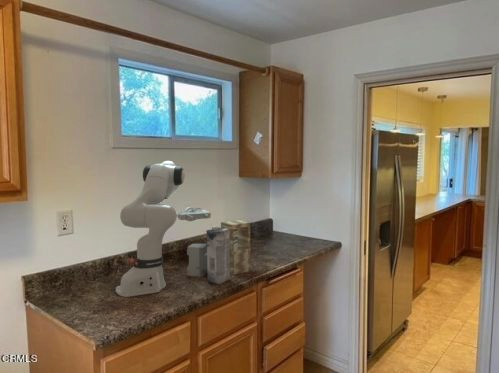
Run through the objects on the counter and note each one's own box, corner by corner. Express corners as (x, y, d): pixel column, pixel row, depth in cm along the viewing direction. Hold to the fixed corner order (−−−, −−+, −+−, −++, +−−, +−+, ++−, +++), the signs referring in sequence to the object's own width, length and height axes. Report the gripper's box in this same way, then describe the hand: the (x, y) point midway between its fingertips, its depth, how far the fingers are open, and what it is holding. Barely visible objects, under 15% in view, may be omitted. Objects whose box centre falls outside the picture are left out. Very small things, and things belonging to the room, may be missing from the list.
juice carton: (232, 279, 187) (231, 225, 185) (219, 285, 178) (218, 229, 176) (217, 276, 191) (217, 224, 189) (204, 282, 183) (204, 227, 180)
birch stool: (231, 275, 194) (231, 225, 192) (221, 270, 202) (220, 222, 200) (250, 270, 201) (250, 222, 199) (240, 266, 209) (239, 219, 207)
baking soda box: (231, 254, 234) (231, 229, 233) (224, 252, 238) (224, 227, 237) (242, 251, 241) (242, 226, 239) (235, 250, 245) (235, 225, 244)
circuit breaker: (214, 277, 190) (213, 248, 189) (187, 275, 193) (187, 246, 192) (218, 272, 198) (218, 244, 196) (192, 271, 201) (192, 243, 199)
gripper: (174, 209, 227) (184, 213, 216) (204, 208, 239) (215, 211, 228) (174, 220, 228) (183, 224, 217) (204, 217, 240) (214, 221, 229)
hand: (200, 217), depth 222 cm, fingers open, 8 cm apart
